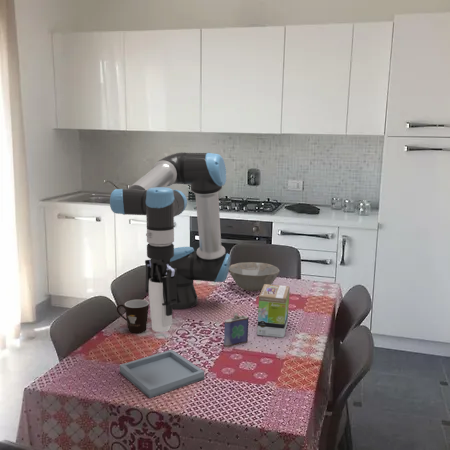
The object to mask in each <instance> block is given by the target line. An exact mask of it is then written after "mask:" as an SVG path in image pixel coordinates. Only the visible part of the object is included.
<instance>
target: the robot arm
mask: <svg viewBox="0 0 450 450" xmlns="http://www.w3.org/2000/svg"><path fill="white" fill-rule="evenodd" d="M225 163H226V162H225V160H224V158H223V156H222V155H220V154H219V153H211V152H176V153H172V154H170V155H167V156H165V157H163V158H161V159H159V160H157V161H156V162H155V163H154V164H153V165H152V166H151V170H149V171H148V172H147V173H146V174H144V175H143V176H142V177H139V179H137V180H136V181H135V182H134V183H133V184H131V185H130V186H129V187H127V188H126V189H125V188H116V189H114V190H113V189H112V192H111V193H110V197H109V206H110V210H111V211H112V212H113V214H118V215H124V216H125V215H129V216H131V215H132V216H146V217H145V218H146V233H145V236H146V243H147V245H146V257H147V258H148V259H145V261H144V263H145V289H144V290H145V293H146V294H147V293H148V295H149V279H150V278H152V282H156V283H160V281H161V283H163V299H164V303H162V313H163V327H166V326H170V327H171V326H173V309H175V310H176V309H177V310H179V309H180V310H184V309H190V308H192V307H195V306H196V305H198V301H199V300H198V298H199V297H198V295H197V292H196V288H195V286H194V281H201V282H211V283H212V282H214V283H224V282H225V281H226V280H227V279H228V278H227V277H228V275H229V266H230V265H231V254H229V253H228V252H227V253H226V248H225V247H224V246H223V245H222V236H221V234H222V233H221V218H220V203H219V202H220V201H219V193H220V192H221V191H222V189H223V186H225V185H226V181H227V169H226V164H225ZM172 185H188V186H189V185H190V191H191V192H192V193H193V194H194V196H195V205H196V216H197V217H196V218H197V228H198V240H199V247H198V248H197V249H196V251H195V249H194V247H191V246H179V247H175V245H174V242H175V229H174V228H175V226H174V224H175V223H174V221H175V217H177V216H180V215H181V214H182V213H183V212H184V211H185V210H186V208H187V205H188V199H187V197H186V195H185V193H183V191H181V190H179V189H172V188H171V187H170V186H172ZM165 276H166V277H165ZM162 277H163V278H162ZM149 313H150V314H149V316H150V317H149V319H150V320H151V311H150V310H149Z"/></svg>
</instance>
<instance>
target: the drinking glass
mask: <svg viewBox="0 0 450 450" xmlns="http://www.w3.org/2000/svg"><path fill="white" fill-rule="evenodd" d="M165 277H166V276H165ZM162 278H163V277H162ZM148 302H149V312H150V311H151V319H150V321H151V330H152V331H153V332H156V333H165V332H168V331H169V330H170V329H171V325H170V326H166V327H163V313H162V303H164V299H163V283H161V281H160V283H156V282H152V278H150V279H149V294H148Z"/></svg>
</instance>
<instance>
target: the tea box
mask: <svg viewBox="0 0 450 450" xmlns="http://www.w3.org/2000/svg"><path fill="white" fill-rule="evenodd" d="M290 289H291V288H290V286H289V285H281V284H271V285H269V284H264V286H263V288H262V290H261V291H260V293H259V295H258V309H257V310H258V311H257V328H256V335H257V336H264V337H272V338H273V337H274V338H275V337H276V338H285V335H286V331H287V327H288V321H289V309H290V307H289V306H290Z"/></svg>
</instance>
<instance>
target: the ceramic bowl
mask: <svg viewBox="0 0 450 450" xmlns="http://www.w3.org/2000/svg"><path fill="white" fill-rule="evenodd" d="M228 273H229V274H230V276H231V277H232V279H233V280H234V283H235V284H236V285H237V286H238V288H240V289H242V290H244V291H247V292H253V293H254V292H255V293H256V292H261V290H262V288H263V286H264V284H269V285H273V283H274V282H275V280H276V279H277V277H278V276H279V274H280V269H279V267H278V266H275V265H273V264H271V263H266V262H254V261H252V262H251V261H249V262H238V263H237V262H236V263H234V264H233V263H232V264H230V266H229V271H228Z"/></svg>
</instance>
